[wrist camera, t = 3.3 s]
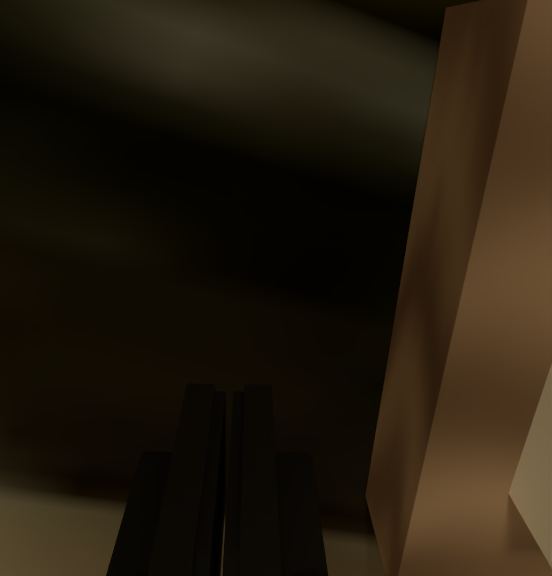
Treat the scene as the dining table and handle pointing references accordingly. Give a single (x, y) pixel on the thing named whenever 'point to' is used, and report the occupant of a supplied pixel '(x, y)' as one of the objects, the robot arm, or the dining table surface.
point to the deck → (471, 306)
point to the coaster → (537, 474)
